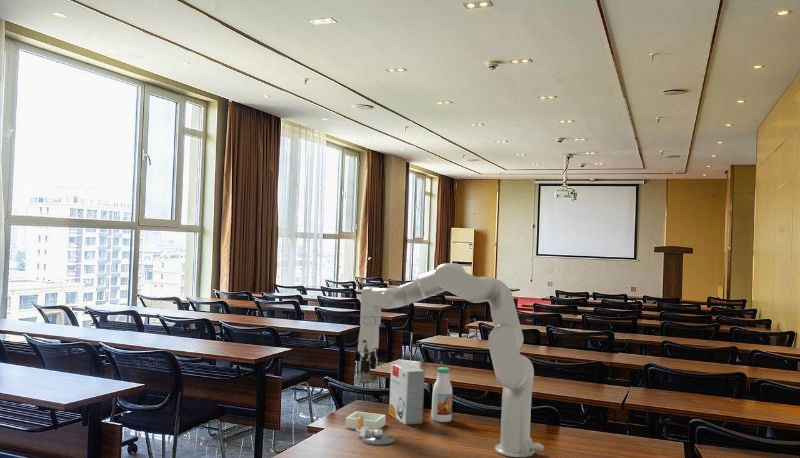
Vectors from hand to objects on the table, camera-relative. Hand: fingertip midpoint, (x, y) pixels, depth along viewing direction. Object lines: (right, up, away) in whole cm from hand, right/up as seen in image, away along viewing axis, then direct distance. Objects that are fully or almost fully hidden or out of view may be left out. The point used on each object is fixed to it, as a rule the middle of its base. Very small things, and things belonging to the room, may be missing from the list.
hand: (368, 369), depth 243 cm
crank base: (+4, -20, -18) cm, 27 cm away
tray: (-1, -21, -1) cm, 21 cm away
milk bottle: (+28, -22, +13) cm, 38 cm away
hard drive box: (+14, -22, +12) cm, 29 cm away
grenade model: (0, -5, 0) cm, 5 cm away
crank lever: (+1, -19, -16) cm, 25 cm away
